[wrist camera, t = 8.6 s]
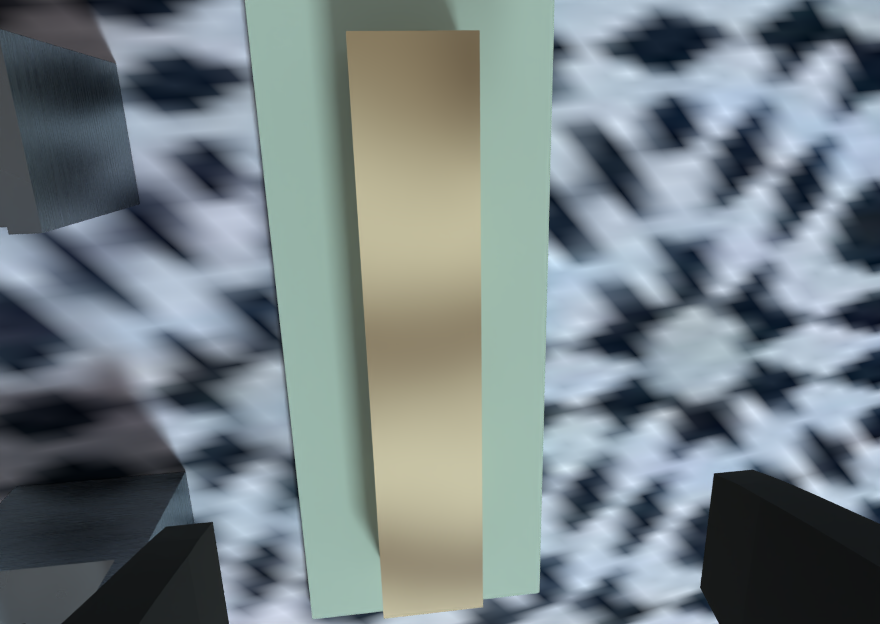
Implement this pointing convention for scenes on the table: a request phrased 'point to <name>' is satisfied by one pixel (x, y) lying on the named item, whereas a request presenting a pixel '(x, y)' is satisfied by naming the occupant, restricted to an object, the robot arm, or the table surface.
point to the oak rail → (422, 307)
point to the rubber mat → (340, 280)
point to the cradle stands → (37, 211)
